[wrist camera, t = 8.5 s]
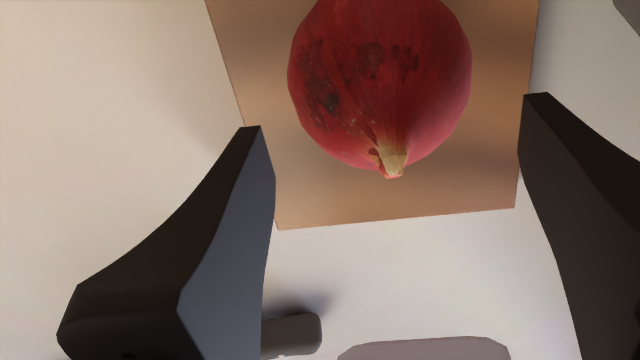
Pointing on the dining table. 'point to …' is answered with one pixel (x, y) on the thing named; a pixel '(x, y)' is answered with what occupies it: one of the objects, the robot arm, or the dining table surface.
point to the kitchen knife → (290, 336)
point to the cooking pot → (630, 12)
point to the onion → (379, 79)
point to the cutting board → (368, 185)
